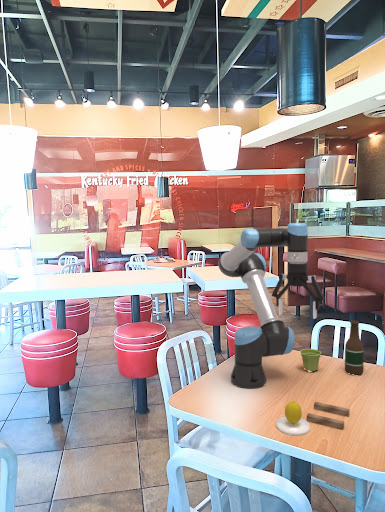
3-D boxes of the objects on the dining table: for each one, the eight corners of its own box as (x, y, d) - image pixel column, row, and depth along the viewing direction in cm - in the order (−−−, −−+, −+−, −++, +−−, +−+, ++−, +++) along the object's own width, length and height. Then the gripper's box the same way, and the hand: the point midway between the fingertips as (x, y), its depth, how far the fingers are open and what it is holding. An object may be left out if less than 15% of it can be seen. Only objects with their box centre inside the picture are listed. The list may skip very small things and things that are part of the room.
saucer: (271, 430, 130) (271, 427, 130) (282, 415, 139) (282, 413, 139) (304, 438, 124) (304, 435, 124) (313, 423, 133) (313, 420, 133)
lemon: (282, 419, 134) (282, 397, 133) (298, 419, 134) (298, 396, 134) (287, 428, 129) (287, 405, 128) (303, 427, 129) (304, 404, 128)
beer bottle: (355, 377, 172) (355, 323, 170) (341, 371, 179) (341, 320, 177) (367, 373, 176) (368, 321, 174) (352, 368, 183) (353, 318, 181)
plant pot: (300, 373, 178) (300, 354, 178) (299, 365, 187) (299, 348, 187) (322, 374, 176) (322, 355, 175) (320, 367, 185) (320, 349, 185)
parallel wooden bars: (306, 421, 135) (306, 415, 135) (315, 406, 145) (315, 401, 145) (343, 429, 129) (343, 424, 129) (349, 414, 139) (349, 409, 139)
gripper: (263, 262, 156) (264, 314, 158) (328, 264, 143) (327, 321, 145) (270, 260, 162) (270, 311, 164) (332, 262, 149) (332, 317, 151)
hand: (297, 316), depth 154 cm, fingers open, 13 cm apart
